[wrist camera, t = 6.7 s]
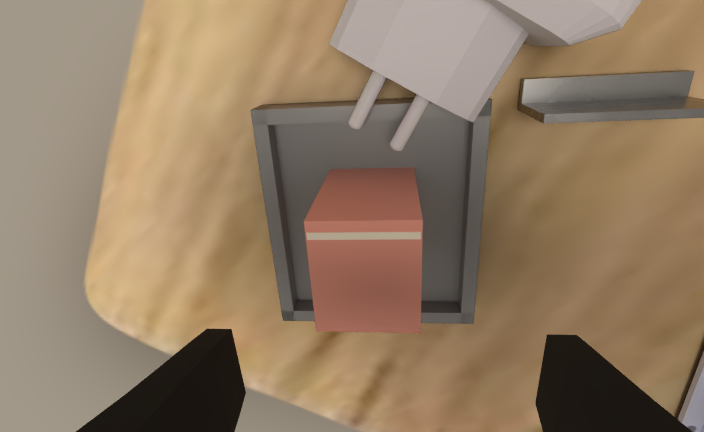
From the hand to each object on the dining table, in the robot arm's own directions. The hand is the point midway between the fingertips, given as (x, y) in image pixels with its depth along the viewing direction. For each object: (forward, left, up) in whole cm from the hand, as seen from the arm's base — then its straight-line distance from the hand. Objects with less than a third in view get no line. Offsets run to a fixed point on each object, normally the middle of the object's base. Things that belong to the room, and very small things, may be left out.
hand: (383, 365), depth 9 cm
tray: (0, +1, -10) cm, 10 cm away
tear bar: (+4, -8, -10) cm, 14 cm away
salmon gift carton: (0, +1, -9) cm, 9 cm away
